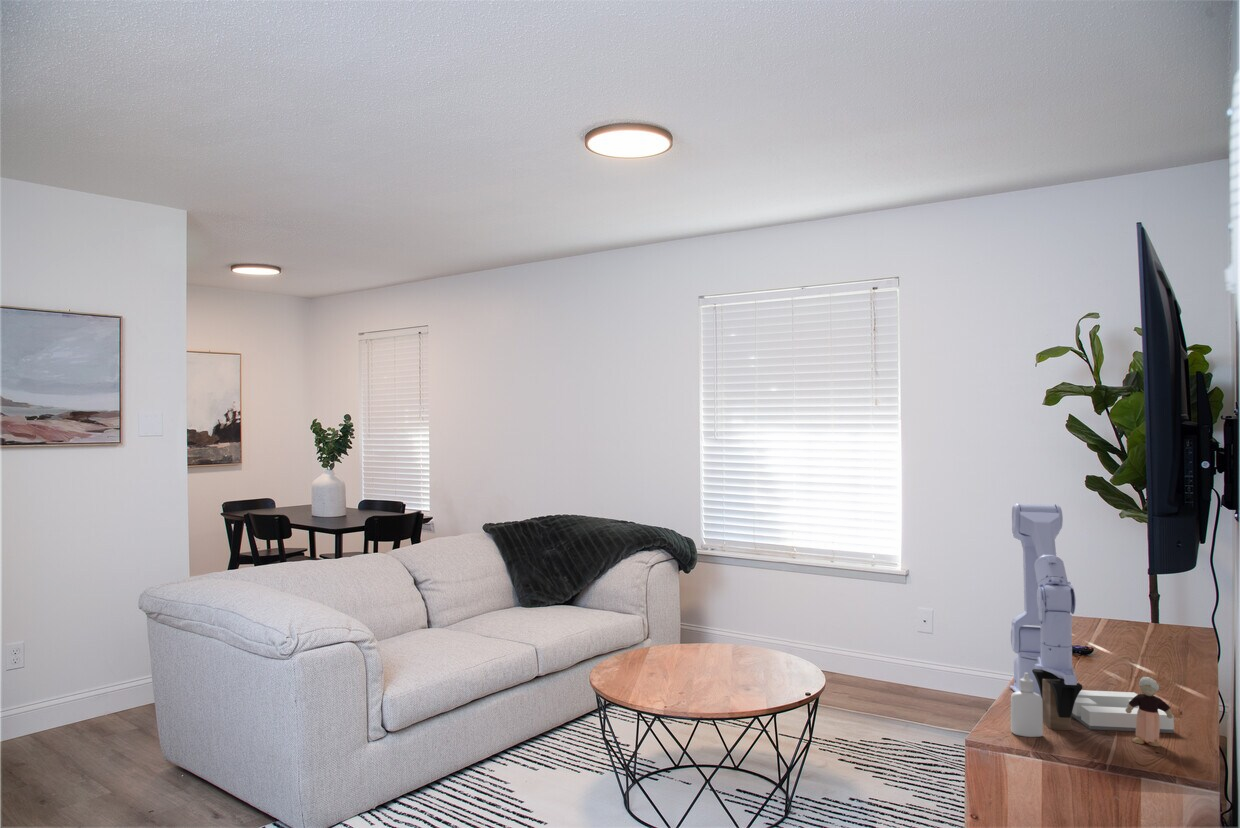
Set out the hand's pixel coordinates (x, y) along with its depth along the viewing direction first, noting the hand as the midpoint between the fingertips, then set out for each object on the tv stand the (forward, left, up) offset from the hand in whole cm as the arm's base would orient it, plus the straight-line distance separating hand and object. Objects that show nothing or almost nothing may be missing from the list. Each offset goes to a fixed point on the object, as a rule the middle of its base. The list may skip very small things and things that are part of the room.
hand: (1056, 711), depth 172 cm
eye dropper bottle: (+6, -8, -3) cm, 11 cm away
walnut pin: (0, 0, -3) cm, 3 cm away
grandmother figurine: (+8, +14, -3) cm, 16 cm away
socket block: (-7, +14, -3) cm, 16 cm away
